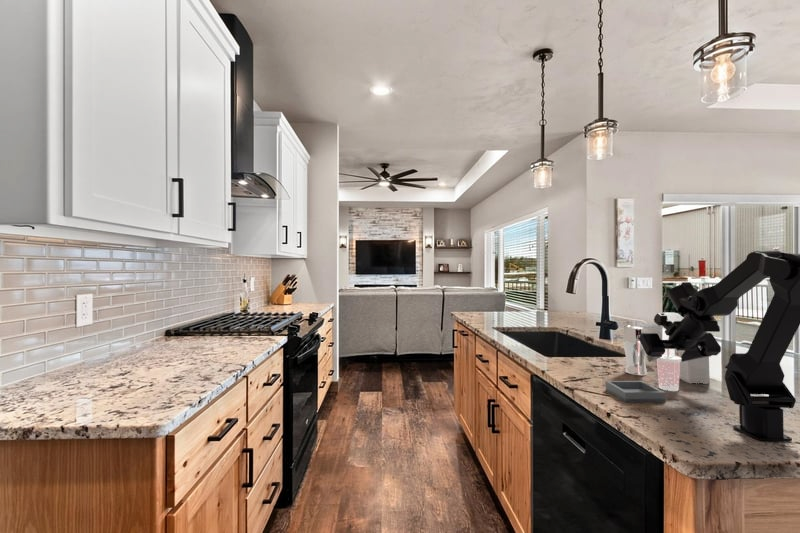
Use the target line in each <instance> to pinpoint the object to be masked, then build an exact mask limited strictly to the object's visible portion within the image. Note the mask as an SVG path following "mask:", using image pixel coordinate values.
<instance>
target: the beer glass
mask: <svg viewBox="0 0 800 533" xmlns="http://www.w3.org/2000/svg"><path fill="white" fill-rule="evenodd" d="M622 331H623V332H622V342H623V344H622V345H623V348H624V349H623V350H624V353H625V362H626V364H625V369H624V372H625V373H626V374H627V373H628V375H632V376H641V377H642V376H647V375H648V371H647V366H646V359H647V356H648V355H647V354H646V352H645V350H644V348H643V346H642V344H641V342H640V340H639V339H638V338H639V337H640V335H641V334H642V333H648V327H647V326H642V325H623V330H622Z"/></svg>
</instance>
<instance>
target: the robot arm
mask: <svg viewBox="0 0 800 533" xmlns="http://www.w3.org/2000/svg"><path fill="white" fill-rule="evenodd" d="M768 277H769V278H768ZM767 278H768V279H769V283H770V286H771V289H772V291H773V296H772V299H771V300H770V302H769V305H768V307H767V309H766V311H765V314H764V316H763V317H762V320H761V322H760V323H759V326H758V329H757V330H756V333H755V335H754V337H753V340H752V342H751V344H750V346H749V348H748V350H747V352H745V353H741V352H740V353H737V352H735V353H732V354H731V355H730V356H729V359H728V360H729V361H728V363H727V364H726V365H725V366H724V368H725V369H726V371H725V374H724V380H725V385H726V390H727V392H728V395H729V400H730V401H732V402H733V403H734V404H735V405H738V406H739V407H738V409H739V410H738V412H739V424H734V425H732V428H733V429H735V430H736V431H739V432H741V433H743V434H745V435H747V436H749V437H752V438H753V439H755V440H757V441H760V442H761V441H762V442H763V441H764V442H765V441H766V442H767V441H768V442H774V441H775V442H777V441H778V442H779V441H780V442H781V441H782V442H784V441H785V442H787V441H789V442H791V441H793V437H791V436H789V435H787V434H784V432H785V431H784V428H785V427H784V409H787V408H788V409H794V407H795V404H796V398H795V397H794V395H793V394H792V392H791V391H790V390H789V388H788V387H787V385H786V384H785V382H784V379H785V374H784V371H783V368H782V366H781V362H782V359H783V358H784V356H785V354H786V352H787V350H788V348H789V346H790V344H791V342H792V341H793V338H794V337H795V335H796V333H797V331H798V329H799V327H800V253H791V252H784V251H779V250H777V249H776V250H754V251H752V252H749V253H748V254H747V255H746V258H745V260H743V261H742V262H741V263H740V264H739V265H738V266H736V267H735V268H734V269H733V270H732V271H731V272H729V273H728V274H727V275H725V276H724V277H723V278H722V279H721V280H720V281H719V282H717V283H716V284H714V285H711V286H707V287H704V288H702V289H700V290H698V291H696V289H695V288H694V286H693V284H692V282H691V281H689V282H688V281H687V282H686V281H684V282H683V281H682V282H681V283H680V284H678V285H676V286H674V287H672V288H670V289H669V290H668V292H667V296H668V297H669V300H670V301H671V303H672V304H673V306H674V308H675V309H676V311H677V312H673V311H672V312H657V314H655V315H654V318H653V322H654V323H655V324H656V325H657V326H659V327H663V328H664V329H665V330H664V334H665V335H666V336H668V339H669V340H667V339H661V337H660V336H659V334H658V333H657V332H647V333H642V334H641V335H640V337H639V338H638V339H639V340H640V342H641V344H642V346H643V348H644V350H645V352H646V354H647V355H646V359H647V361H648V362H649V363H650V362H654V361H655V360H656V361H657V359H658V358H660V357H662V355H665V353H666V350H667V349H669V350H675V349H677V351H679V350H685V352H684V353H683V354H682V356H681V358H682V359H681V361H682V362H684V361H689V360H693V359H698V358H703V357H709V358H710V357H712V356H718V355H719V354H720V353H721V352H722V346H721V345H720V344H719V342H718V340H717V339H716V338H715V336H714V335H713V334H712V333H715V332H717V333H719V332H720V331H721V328H720V325H719V323H718V320H716V318H715V317H721V316H722V317H726V316H727V317H728V316H729V315H731V314H732V312H733V311H734V310H736V308H737V307H738V306H739V299H740V298H741V297H742V296H744V295H745V294H747V293H748V292H750V290H752V289H753V288H755V287H756V286H758V285H759V284H760V283H761V282H763V281H765V279H767ZM679 313H680V314H679ZM681 314H684V316H682V315H681ZM711 332H712V333H711ZM759 395H761V396H759ZM763 395H764V396H763ZM765 395H767V396H765Z"/></svg>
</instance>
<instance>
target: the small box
mask: <svg viewBox="0 0 800 533" xmlns="http://www.w3.org/2000/svg"><path fill="white" fill-rule="evenodd" d="M684 352H685V350H679V351H677V349H674V356H678V357H680V358H681V356H682V354H683V353H684ZM679 380H682V381H684V382H685V383H687V384H692V383H696V385H700V384H699V383H703V384H704V385H710V384H711V383H710V382H711V381H710V380H711V379H710V357H703V358H698V359H693V360H689V361H684V362H682V361H681V362H680V377H679ZM697 383H698V384H697ZM703 384H702V385H703Z"/></svg>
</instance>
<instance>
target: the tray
mask: <svg viewBox="0 0 800 533" xmlns="http://www.w3.org/2000/svg"><path fill="white" fill-rule="evenodd" d="M605 391H607V392H608V393H610V394H611V395H613V396H615V397H616V398H618V399H619V400H621V401H623V402H624V403H666V392H665V391H664V390H662V389H660V388H657V387H655V386H653V385H651V384H649V383H647V382H645V381H643V380H606V381H605Z"/></svg>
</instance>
